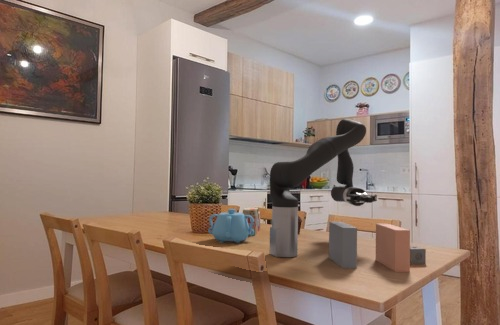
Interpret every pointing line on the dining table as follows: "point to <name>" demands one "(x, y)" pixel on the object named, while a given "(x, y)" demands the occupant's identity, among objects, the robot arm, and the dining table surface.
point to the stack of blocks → (256, 217)
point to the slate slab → (343, 244)
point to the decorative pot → (231, 226)
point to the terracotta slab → (393, 247)
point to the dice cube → (417, 255)
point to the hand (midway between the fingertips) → (369, 199)
